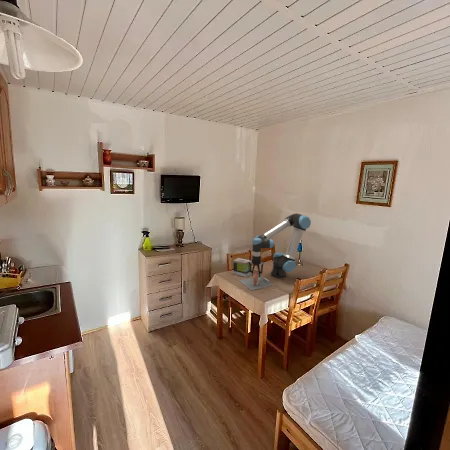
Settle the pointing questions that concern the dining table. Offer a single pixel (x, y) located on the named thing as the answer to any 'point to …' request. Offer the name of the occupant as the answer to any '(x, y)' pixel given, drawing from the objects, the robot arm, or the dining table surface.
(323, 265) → the dining table surface
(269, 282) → the stop block
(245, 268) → the tea box
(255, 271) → the leg
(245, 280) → the felt mat
